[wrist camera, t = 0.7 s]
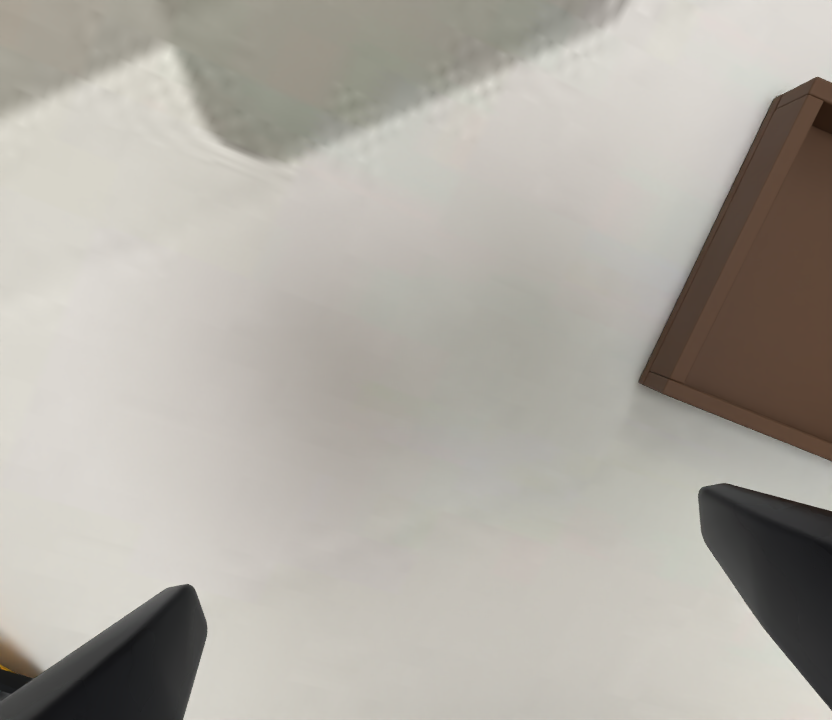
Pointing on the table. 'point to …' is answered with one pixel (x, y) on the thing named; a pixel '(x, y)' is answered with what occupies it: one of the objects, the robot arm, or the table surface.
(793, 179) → the tray
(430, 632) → the table surface
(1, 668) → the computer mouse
